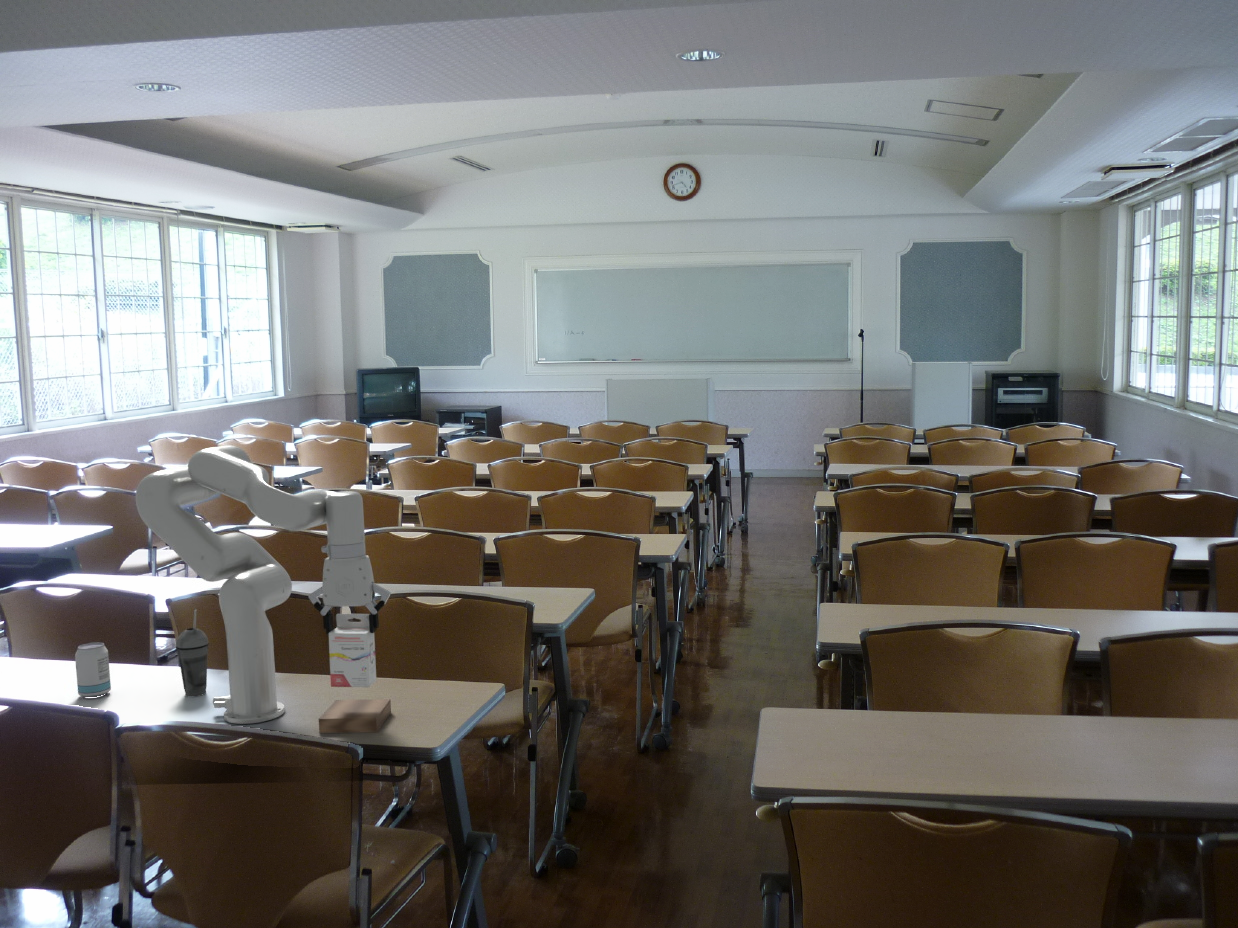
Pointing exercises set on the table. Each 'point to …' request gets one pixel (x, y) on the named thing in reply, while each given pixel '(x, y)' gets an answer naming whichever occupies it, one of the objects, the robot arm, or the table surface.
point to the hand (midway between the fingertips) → (351, 631)
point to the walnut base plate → (355, 716)
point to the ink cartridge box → (352, 652)
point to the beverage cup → (193, 659)
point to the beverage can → (92, 670)
